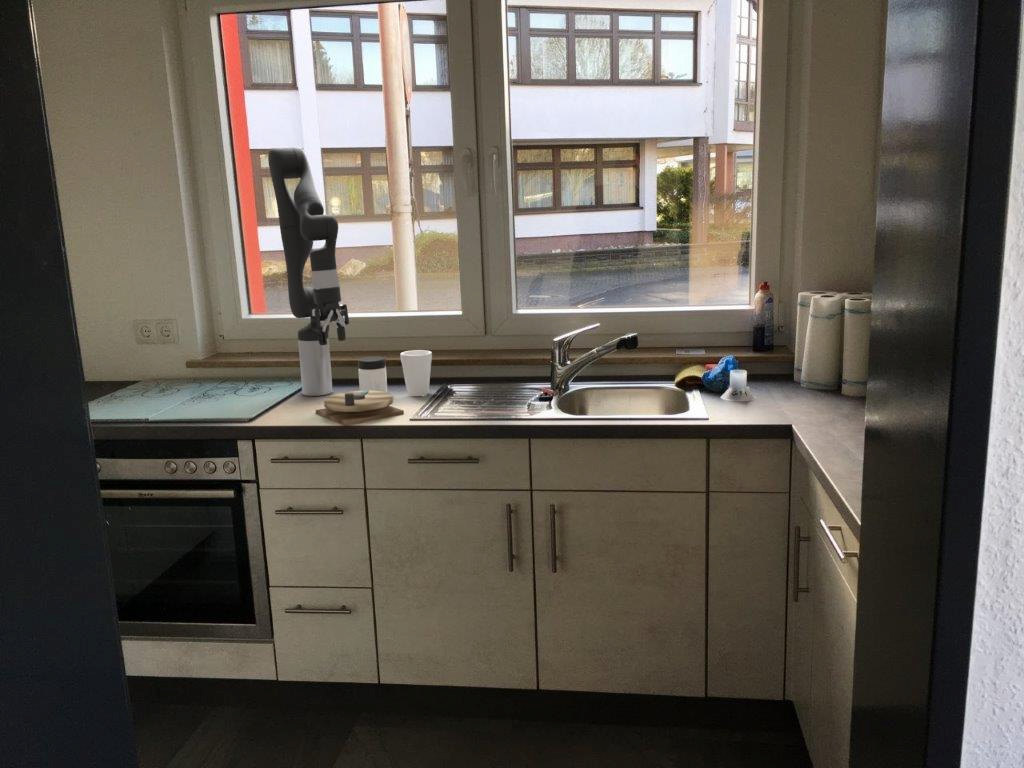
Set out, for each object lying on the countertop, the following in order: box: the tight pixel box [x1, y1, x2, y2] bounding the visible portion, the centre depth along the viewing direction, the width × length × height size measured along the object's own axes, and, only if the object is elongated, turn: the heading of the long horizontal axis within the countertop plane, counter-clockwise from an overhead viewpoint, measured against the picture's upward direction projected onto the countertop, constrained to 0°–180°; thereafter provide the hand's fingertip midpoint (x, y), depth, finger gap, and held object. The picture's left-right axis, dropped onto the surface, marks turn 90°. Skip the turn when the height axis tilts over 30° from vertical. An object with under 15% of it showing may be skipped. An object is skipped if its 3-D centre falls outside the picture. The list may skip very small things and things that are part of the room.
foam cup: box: [400, 349, 433, 397], centre depth 254 cm, size 10×9×13 cm
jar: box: [357, 356, 388, 393], centre depth 252 cm, size 9×8×12 cm
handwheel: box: [323, 390, 394, 412], centre depth 232 cm, size 19×19×4 cm
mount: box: [315, 405, 405, 426], centre depth 233 cm, size 18×18×3 cm
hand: (332, 342), depth 239 cm, fingers open, 8 cm apart
